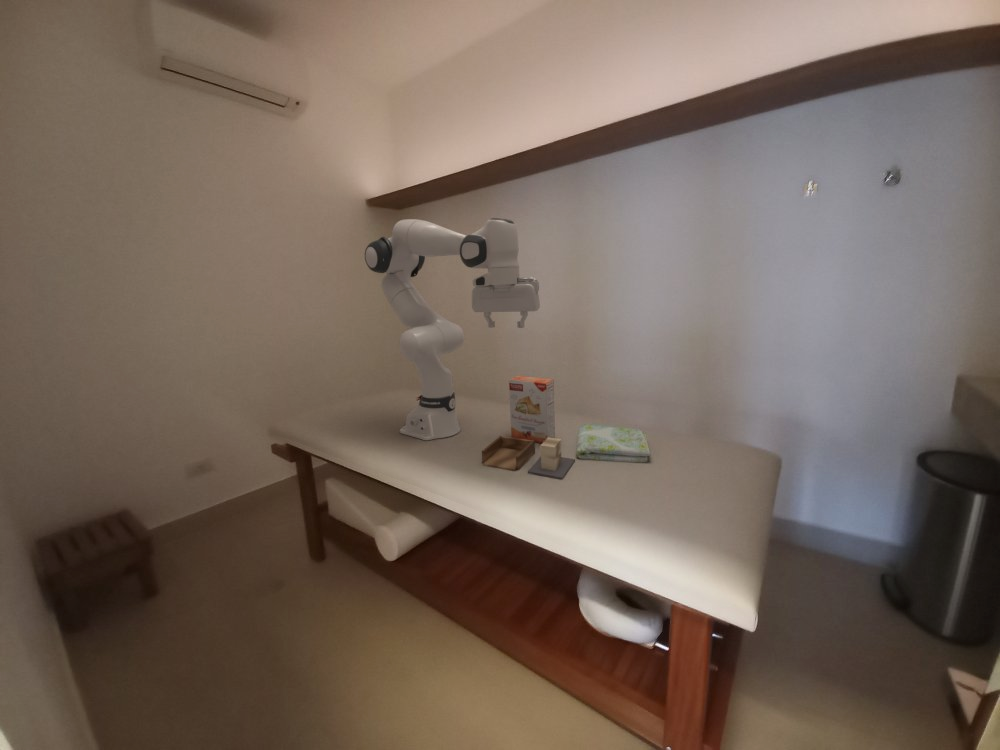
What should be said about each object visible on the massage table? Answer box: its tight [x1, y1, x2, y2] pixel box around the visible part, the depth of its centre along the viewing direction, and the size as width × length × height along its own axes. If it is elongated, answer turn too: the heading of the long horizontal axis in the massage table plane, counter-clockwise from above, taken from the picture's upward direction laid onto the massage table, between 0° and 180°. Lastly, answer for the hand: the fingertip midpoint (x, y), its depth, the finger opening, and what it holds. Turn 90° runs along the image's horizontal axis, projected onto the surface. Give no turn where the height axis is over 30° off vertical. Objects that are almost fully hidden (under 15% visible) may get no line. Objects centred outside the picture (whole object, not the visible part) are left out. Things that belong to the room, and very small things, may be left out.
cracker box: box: [508, 375, 556, 444], centre depth 132 cm, size 14×6×21 cm, turn 57°
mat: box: [527, 456, 576, 480], centre depth 113 cm, size 10×12×1 cm
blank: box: [540, 437, 562, 471], centre depth 112 cm, size 6×4×7 cm, turn 154°
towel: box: [575, 423, 651, 464], centre depth 123 cm, size 18×21×5 cm
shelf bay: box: [481, 435, 536, 472], centre depth 120 cm, size 12×14×4 cm
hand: (506, 327), depth 115 cm, fingers open, 8 cm apart
